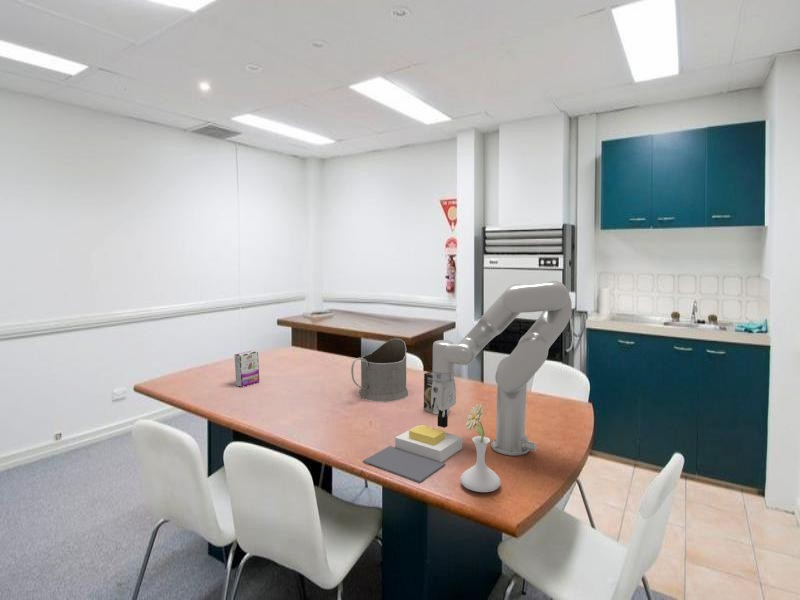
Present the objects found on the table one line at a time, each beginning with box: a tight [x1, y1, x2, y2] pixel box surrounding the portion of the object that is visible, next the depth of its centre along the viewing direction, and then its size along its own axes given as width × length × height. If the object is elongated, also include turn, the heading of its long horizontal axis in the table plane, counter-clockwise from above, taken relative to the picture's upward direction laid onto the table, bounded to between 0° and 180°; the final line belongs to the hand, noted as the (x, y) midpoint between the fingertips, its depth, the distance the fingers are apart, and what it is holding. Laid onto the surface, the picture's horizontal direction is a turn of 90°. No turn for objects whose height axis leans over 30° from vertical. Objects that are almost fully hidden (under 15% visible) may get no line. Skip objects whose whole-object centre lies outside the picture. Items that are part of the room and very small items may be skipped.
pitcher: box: [350, 338, 409, 403], centre depth 212 cm, size 23×32×25 cm
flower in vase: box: [459, 403, 502, 493], centre depth 128 cm, size 13×11×25 cm
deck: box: [394, 425, 463, 463], centre depth 155 cm, size 18×14×4 cm
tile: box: [409, 424, 446, 445], centre depth 154 cm, size 10×7×2 cm
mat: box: [362, 445, 446, 484], centre depth 144 cm, size 22×14×1 cm, turn 53°
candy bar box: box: [234, 349, 260, 388], centre depth 232 cm, size 11×5×16 cm, turn 147°
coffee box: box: [423, 370, 434, 414], centre depth 192 cm, size 9×6×16 cm
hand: (442, 426), depth 162 cm, fingers closed
